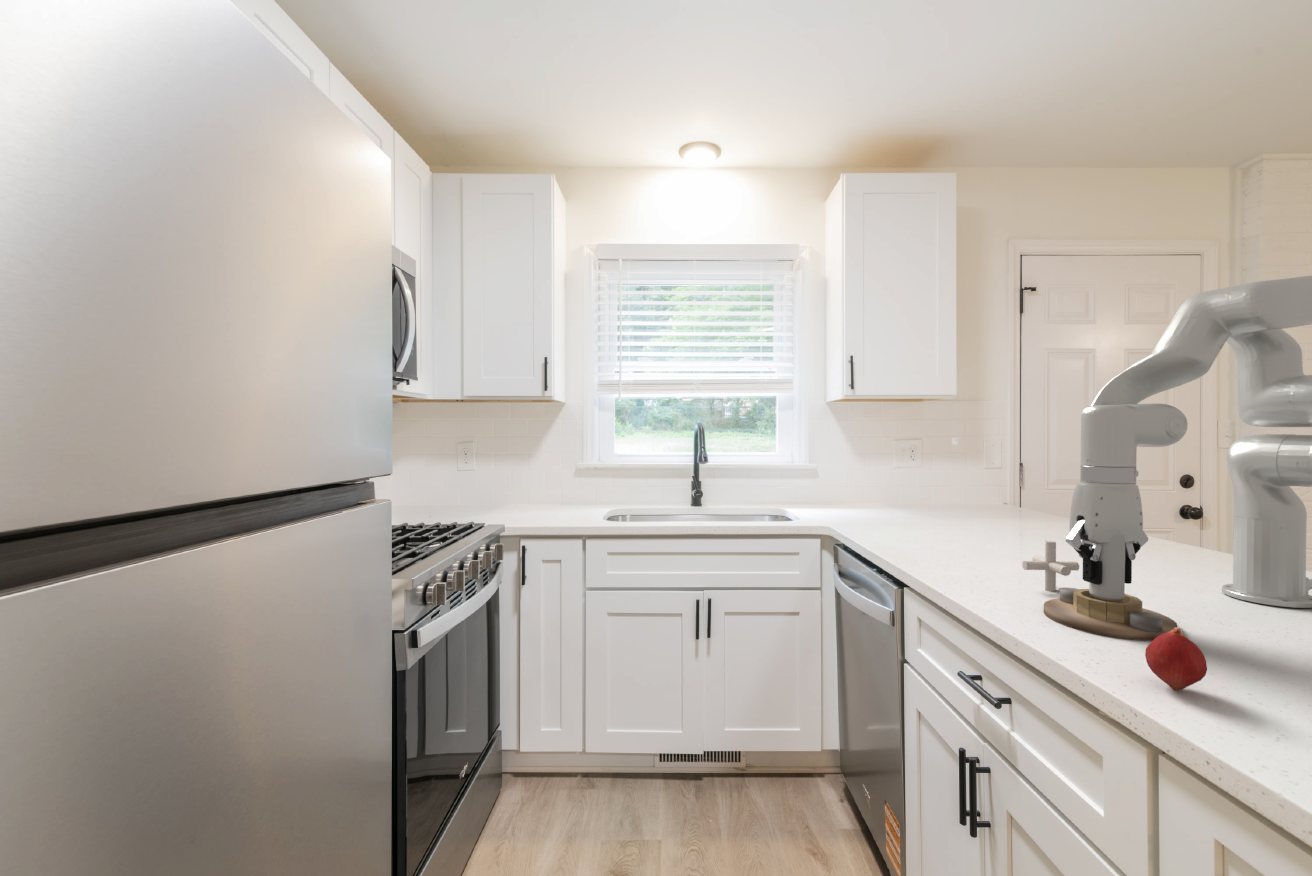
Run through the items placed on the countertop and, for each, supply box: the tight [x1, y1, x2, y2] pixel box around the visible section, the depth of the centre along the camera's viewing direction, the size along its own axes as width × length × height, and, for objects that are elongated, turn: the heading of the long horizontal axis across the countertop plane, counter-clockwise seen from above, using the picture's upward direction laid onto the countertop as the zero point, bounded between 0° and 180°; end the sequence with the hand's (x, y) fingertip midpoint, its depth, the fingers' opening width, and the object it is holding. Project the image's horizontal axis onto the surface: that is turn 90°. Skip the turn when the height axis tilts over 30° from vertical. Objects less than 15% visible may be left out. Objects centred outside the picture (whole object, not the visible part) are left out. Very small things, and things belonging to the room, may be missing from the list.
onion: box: [1144, 627, 1208, 691], centre depth 72 cm, size 6×6×8 cm
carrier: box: [1043, 587, 1178, 641], centre depth 98 cm, size 18×18×4 cm
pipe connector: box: [1021, 540, 1080, 592], centre depth 116 cm, size 10×10×10 cm
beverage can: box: [1088, 531, 1126, 601], centre depth 98 cm, size 5×5×12 cm
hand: (1106, 581), depth 98 cm, fingers closed on beverage can, 4 cm apart
